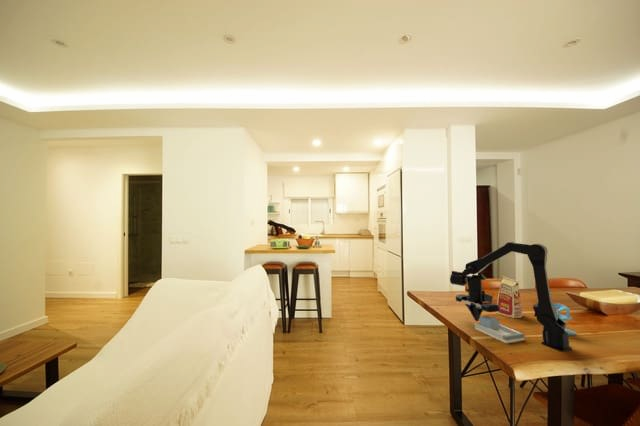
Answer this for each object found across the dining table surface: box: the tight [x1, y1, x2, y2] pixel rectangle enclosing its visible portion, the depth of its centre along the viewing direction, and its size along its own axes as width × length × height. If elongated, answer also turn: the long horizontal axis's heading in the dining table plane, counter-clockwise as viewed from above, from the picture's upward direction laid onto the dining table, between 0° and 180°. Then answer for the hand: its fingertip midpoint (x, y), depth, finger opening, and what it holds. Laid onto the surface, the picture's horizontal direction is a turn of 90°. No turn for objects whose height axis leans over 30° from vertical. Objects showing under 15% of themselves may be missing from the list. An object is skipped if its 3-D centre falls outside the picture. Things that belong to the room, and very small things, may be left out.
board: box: [474, 322, 525, 344], centre depth 101 cm, size 14×10×2 cm
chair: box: [552, 302, 577, 336], centre depth 104 cm, size 8×8×12 cm
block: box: [479, 315, 500, 330], centre depth 105 cm, size 5×5×4 cm
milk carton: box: [496, 275, 523, 319], centre depth 125 cm, size 9×9×20 cm
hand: (476, 320), depth 112 cm, fingers closed
